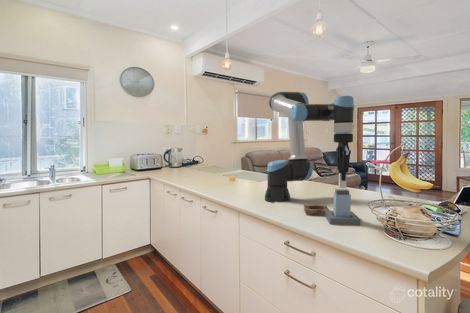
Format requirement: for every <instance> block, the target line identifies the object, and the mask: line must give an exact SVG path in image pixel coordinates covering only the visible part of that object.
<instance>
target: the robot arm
mask: <svg viewBox="0 0 470 313" xmlns="http://www.w3.org/2000/svg"><path fill="white" fill-rule="evenodd" d="M333 100H334V101H333V103H327V104H326V103H310V101H309V97H308V96H307V94H306V93H305V92H302V91H278V92H276V93H275V92H274V94H272V95H271V96H270V97H269V100H268V104H269V105H268V106H269V108H270V109H271V110H272V111H274V112H277V113H279V112H280V113H283V114H285V116H286V117H287V118H288V133H289V134H288V136H289V151H290V156H289V158H288V159H279V160H278V159H277V160H272V161H270V162H268V163H267V167H266V168H267V169H266V171H267V172H266V175H267V186H266V191H265V194H264V201H266V202H268V203H283V202H290V201H291V194H290V191H289V187H288V182H289V183H290V182H303V181H308V180H310V179H311V177H312V175H313V173H314V172H313V169H314V167H313V163H312V162H311V161H309V158H308V156H307V155H306V148H305V128H304V122H310V121H311V122H315V121H316V122H321V121H322V122H330V121H333V143H337V147H336V149H335V150H336V151H335V152H336V166H337V169H336V170H337V171H338V189H347V175H348V174H347V173H349V169H350V159H351V153H352V151H351V150H350V146H349V143H353V142H354V134H353V132H354V127H355V125H354V114H355V113H354V110H355V109H354V107H355V103H354V97H353V96H352V95H340V96H336V97H334V99H333Z"/></svg>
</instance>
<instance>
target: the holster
mask: <svg viewBox="0 0 470 313" xmlns="http://www.w3.org/2000/svg"><path fill="white" fill-rule="evenodd" d="M303 211H304V213H305V215H306V216H316V217H317V216H318V217H319V216H322V217H323V216H324V217H325V211H331V210H330V209H329V208H328V206H327V205H326V204H322V205H321V204H304V205H303Z"/></svg>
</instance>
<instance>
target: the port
mask: <svg viewBox="0 0 470 313" xmlns="http://www.w3.org/2000/svg"><path fill="white" fill-rule="evenodd" d="M324 217H325V219H326V220H327V221H328V224H329V225H343V226H346V225H347V226H361V218H359V216H358V215H356V214H355V213H354V211H351V210H350V217H334V216H333V210H330V211H325V216H324Z"/></svg>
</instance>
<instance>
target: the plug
mask: <svg viewBox="0 0 470 313" xmlns="http://www.w3.org/2000/svg"><path fill="white" fill-rule="evenodd" d="M351 202H352V195H351V194H350V190H349V189H347V188H337V189H335V188H334V192H333V206H332V208H333V210H332V211H333V216H334V217H350V211H351V204H352V203H351Z"/></svg>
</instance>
